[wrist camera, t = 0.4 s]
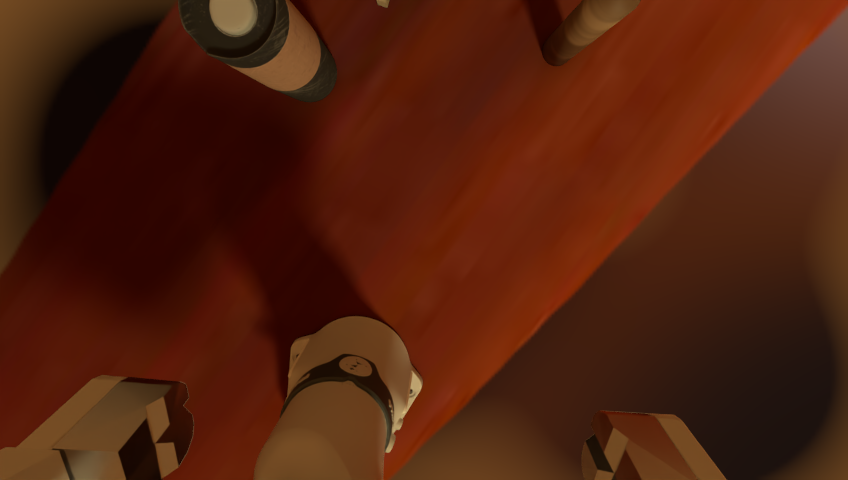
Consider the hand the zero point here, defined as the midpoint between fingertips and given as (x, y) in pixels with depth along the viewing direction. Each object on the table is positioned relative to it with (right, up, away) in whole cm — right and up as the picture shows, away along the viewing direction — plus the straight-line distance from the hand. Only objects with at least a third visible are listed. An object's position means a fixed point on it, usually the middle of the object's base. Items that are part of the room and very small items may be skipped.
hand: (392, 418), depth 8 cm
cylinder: (+17, +27, +40) cm, 51 cm away
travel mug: (-14, +24, +41) cm, 50 cm away
